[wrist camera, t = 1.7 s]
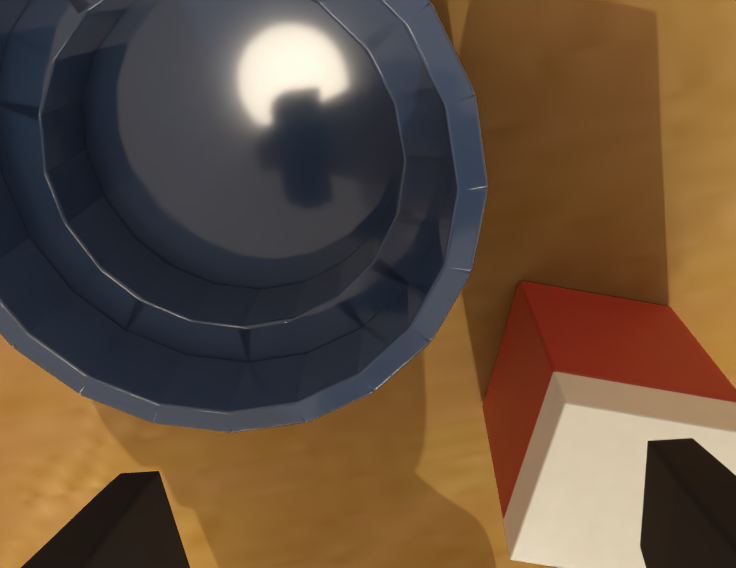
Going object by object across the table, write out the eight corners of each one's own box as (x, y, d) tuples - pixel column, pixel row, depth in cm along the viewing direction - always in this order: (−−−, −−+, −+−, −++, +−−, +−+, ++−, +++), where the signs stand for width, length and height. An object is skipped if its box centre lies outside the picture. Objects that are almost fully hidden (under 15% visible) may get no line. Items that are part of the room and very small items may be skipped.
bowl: (547, 27, 16) (602, 49, 12) (355, 382, 21) (342, 497, 16) (96, -205, 15) (-39, -281, 10) (-6, 233, 19) (-132, 314, 15)
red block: (671, 305, 19) (777, 438, 14) (620, 430, 21) (696, 591, 16) (518, 278, 19) (565, 402, 14) (481, 406, 21) (509, 560, 16)
